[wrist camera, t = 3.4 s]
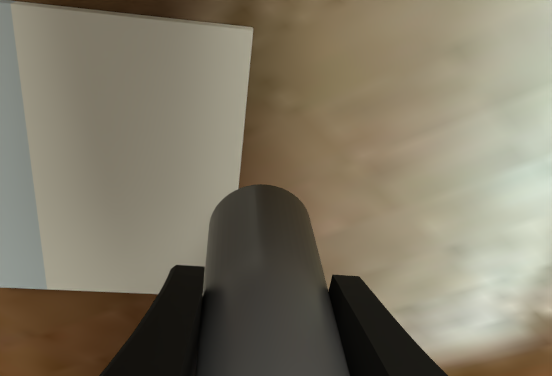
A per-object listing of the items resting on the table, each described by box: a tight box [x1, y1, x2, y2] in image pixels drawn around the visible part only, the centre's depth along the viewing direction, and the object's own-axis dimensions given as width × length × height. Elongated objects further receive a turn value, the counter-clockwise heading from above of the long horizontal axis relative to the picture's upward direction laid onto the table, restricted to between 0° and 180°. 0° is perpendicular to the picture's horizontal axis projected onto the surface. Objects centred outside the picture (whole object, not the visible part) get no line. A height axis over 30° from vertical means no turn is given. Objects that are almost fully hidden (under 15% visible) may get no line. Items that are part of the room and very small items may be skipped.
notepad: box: [0, 0, 253, 294], centre depth 19 cm, size 12×10×1 cm
